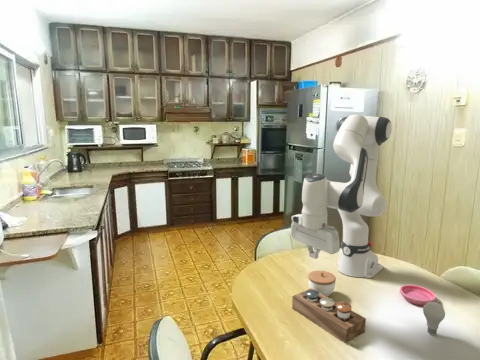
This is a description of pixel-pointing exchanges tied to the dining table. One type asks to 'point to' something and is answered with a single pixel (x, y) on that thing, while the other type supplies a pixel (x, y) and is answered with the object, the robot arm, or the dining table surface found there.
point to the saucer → (417, 294)
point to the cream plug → (326, 304)
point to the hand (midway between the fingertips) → (313, 257)
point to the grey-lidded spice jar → (311, 295)
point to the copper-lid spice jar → (343, 311)
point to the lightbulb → (433, 316)
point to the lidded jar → (322, 282)
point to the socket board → (329, 318)
